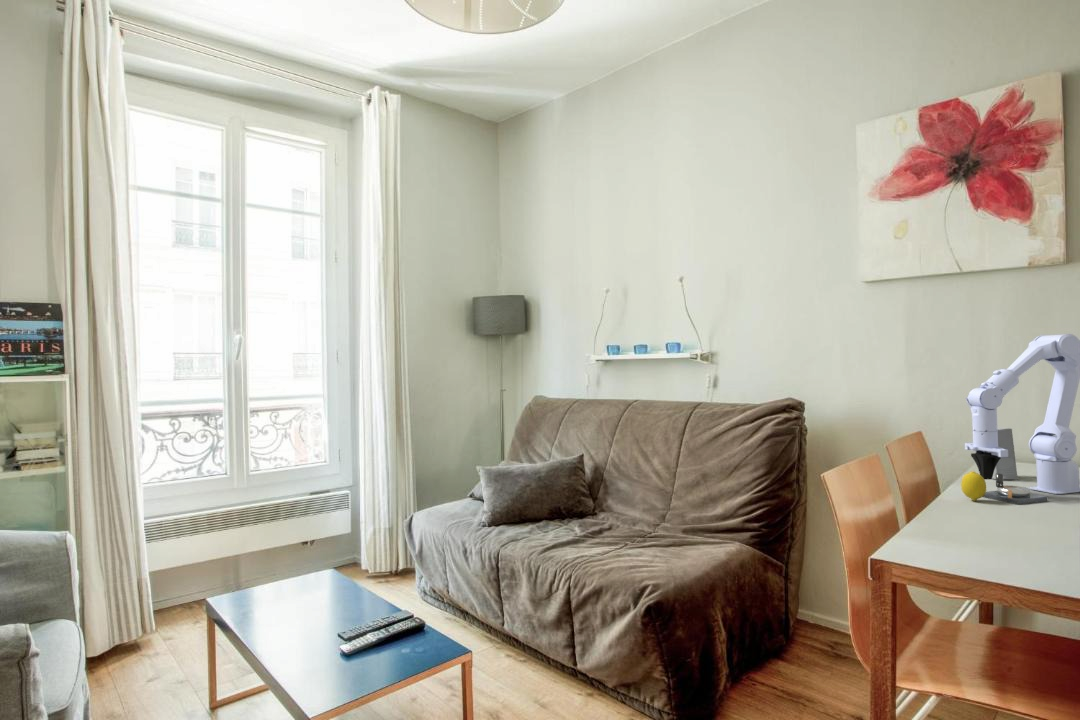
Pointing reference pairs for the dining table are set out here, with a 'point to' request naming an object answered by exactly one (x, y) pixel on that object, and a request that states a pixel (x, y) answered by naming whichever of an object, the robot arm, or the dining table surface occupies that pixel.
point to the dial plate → (1015, 498)
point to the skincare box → (1006, 463)
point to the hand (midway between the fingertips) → (986, 478)
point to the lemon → (973, 485)
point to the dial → (1010, 488)
